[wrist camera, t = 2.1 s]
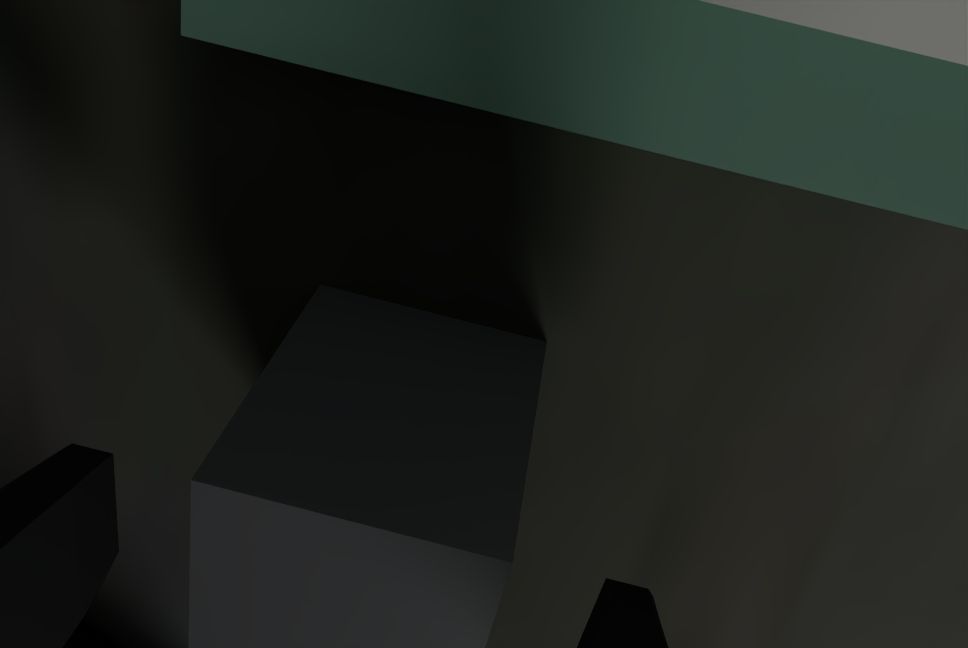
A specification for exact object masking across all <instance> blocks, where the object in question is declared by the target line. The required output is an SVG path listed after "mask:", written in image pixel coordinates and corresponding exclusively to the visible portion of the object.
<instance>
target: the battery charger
mask: <svg viewBox="0 0 968 648" xmlns="http://www.w3.org/2000/svg"><path fill="white" fill-rule="evenodd" d="M63 648H112V647H110V646H109V645H107V644H106V643H104V642H103V641H101V640H100V639H98V638H97V637H95V636H94V635H92V634H91V633H89V632H88V631H86V630H85V629H83V628H82V627H80V626H79V625H78V626H77V627H76V629H75V630H74V632H73V633H72V635H71V636H70V638H69V639H68V641H67V642H66V643H65V645H64V646H63Z"/></svg>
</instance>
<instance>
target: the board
mask: <svg viewBox="0 0 968 648" xmlns="http://www.w3.org/2000/svg"><path fill="white" fill-rule="evenodd" d="M181 35H182V36H186V37H190V38H194V39H198V40H202V41H206V42H210V43H214V44H218V45H222V46H226V47H230V48H234V49H238V50H242V51H246V52H251V53H255V54H259V55H263V56H267V57H271V58H275V59H279V60H283V61H287V62H291V63H295V64H299V65H303V66H307V67H311V68H315V69H319V70H323V71H327V72H331V73H335V74H340V75H344V76H348V77H352V78H356V79H360V80H364V81H368V82H372V83H376V84H380V85H384V86H388V87H392V88H396V89H400V90H404V91H408V92H412V93H416V94H420V95H424V96H429V97H433V98H437V99H441V100H445V101H449V102H453V103H457V104H461V105H465V106H469V107H473V108H477V109H481V110H485V111H489V112H493V113H497V114H501V115H505V116H509V117H513V118H518V119H522V120H526V121H530V122H534V123H538V124H542V125H546V126H550V127H554V128H558V129H562V130H566V131H570V132H574V133H578V134H582V135H586V136H590V137H594V138H598V139H602V140H607V141H611V142H615V143H619V144H623V145H627V146H631V147H635V148H639V149H643V150H647V151H651V152H655V153H659V154H663V155H667V156H671V157H675V158H679V159H683V160H687V161H691V162H696V163H700V164H704V165H708V166H712V167H716V168H720V169H724V170H728V171H732V172H736V173H740V174H744V175H748V176H752V177H756V178H760V179H764V180H768V181H772V182H776V183H780V184H785V185H789V186H793V187H797V188H801V189H805V190H809V191H813V192H817V193H821V194H825V195H829V196H833V197H837V198H841V199H845V200H849V201H853V202H857V203H861V204H865V205H869V206H874V207H878V208H882V209H886V210H890V211H894V212H898V213H902V214H906V215H910V216H914V217H918V218H922V219H926V220H930V221H934V222H938V223H942V224H946V225H950V226H954V227H958V228H963V229H967V230H968V0H181Z"/></svg>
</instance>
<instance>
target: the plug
mask: <svg viewBox="0 0 968 648" xmlns="http://www.w3.org/2000/svg"><path fill="white" fill-rule="evenodd" d="M546 343H547V341H543V340H539V339H535V338H531V337H527V336H523V335H519V334H515V333H511V332H507V331H503V330H499V329H495V328H491V327H487V326H483V325H479V324H475V323H471V322H467V321H463V320H459V319H455V318H452V317H448V316H444V315H440V314H436V313H432V312H428V311H424V310H420V309H416V308H412V307H408V306H404V305H400V304H396V303H392V302H388V301H384V300H380V299H376V298H372V297H368V296H364V295H360V294H356V293H352V292H349V291H345V290H341V289H337V288H333V287H329V286H325V285H321V284H320V285H319V287H318V288H317V290H316V291H315V293H314V295H313V296H312V298H311V299H310V301H309V302H308V304H307V305H306V307H305V308H304V310H303V311H302V313H301V314H300V316H299V317H298V319H297V320H296V322H295V323H294V325H293V326H292V328H291V329H290V331H289V332H288V334H287V335H286V337H285V338H284V340H283V341H282V343H281V345H280V346H279V348H278V349H277V351H276V352H275V354H274V355H273V357H272V358H271V360H270V361H269V363H268V364H267V366H266V367H265V369H264V370H263V372H262V373H261V375H260V376H259V378H258V379H257V381H256V382H255V384H254V385H253V387H252V388H251V390H250V391H249V393H248V395H247V396H246V398H245V399H244V401H243V402H242V404H241V405H240V407H239V408H238V410H237V411H236V413H235V414H234V416H233V417H232V419H231V420H230V422H229V423H228V425H227V426H226V428H225V429H224V431H223V432H222V434H221V435H220V437H219V438H218V440H217V441H216V443H215V445H214V446H213V448H212V449H211V451H210V452H209V454H208V455H207V457H206V458H205V460H204V461H203V463H202V464H201V466H200V467H199V469H198V470H197V472H196V473H195V475H194V476H193V478H192V479H191V516H190V587H189V648H485V647H486V644H487V641H488V638H489V634H490V631H491V628H492V625H493V622H494V619H495V616H496V613H497V610H498V606H499V603H500V600H501V597H502V594H503V591H504V588H505V585H506V582H507V578H508V575H509V572H510V569H511V566H512V563H513V556H514V550H515V543H516V537H517V531H518V524H519V518H520V511H521V505H522V498H523V492H524V485H525V479H526V472H527V466H528V459H529V453H530V447H531V440H532V434H533V427H534V421H535V414H536V408H537V401H538V395H539V388H540V382H541V375H542V369H543V362H544V356H545V350H546Z"/></svg>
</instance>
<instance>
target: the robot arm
mask: <svg viewBox="0 0 968 648" xmlns="http://www.w3.org/2000/svg"><path fill="white" fill-rule="evenodd" d="M118 552H119V547H118V530H117V512H116V494H115V477H114V459H113V454H112V453H108V452H104V451H100V450H96V449H92V448H88V447H84V446H80V445H76V444H70V445H69V446H67V447H65V448H64V449H62V450H60V451H59V452H57V453H56V454H54V455H52V456H51V457H49V458H48V459H46V460H44V461H43V462H41V463H40V464H38V465H37V466H35V467H34V468H32V469H30V470H29V471H27V472H26V473H24V474H23V475H21V476H20V477H18V478H17V479H15V480H13V481H12V482H10V483H9V484H7V485H6V486H4V487H3V488H1V489H0V648H63V646H64V645H65V643H66V642H67V641H68V639H69V638H70V636H71V635H72V633H73V632H74V630H75V629H76V627H77V626H78V624H79V623H80V622H81V620H82V619H83V617H84V615H85V614H86V612H87V610H88V608H89V606H90V605H91V603H92V601H93V599H94V597H95V596H96V594H97V592H98V590H99V588H100V586H101V585H102V583H103V581H104V579H105V577H106V575H107V573H108V571H109V569H110V567H111V565H112V563H113V562H114V560H115V558H116V556H117V554H118ZM577 648H668V645H667V642H666V639H665V636H664V632H663V629H662V626H661V623H660V619H659V616H658V612H657V609H656V605H655V602H654V598H653V596H652V594H651V592H650V591H649V589H647V588H643V587H639V586H635V585H631V584H627V583H623V582H619V581H615V580H611V579H607V578H606V579H605V582H604V584H603V587H602V589H601V591H600V594H599V596H598V599H597V601H596V603H595V606H594V608H593V610H592V613H591V615H590V618H589V620H588V622H587V625H586V627H585V630H584V632H583V634H582V637H581V639H580V641H579V644H578V646H577Z"/></svg>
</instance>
